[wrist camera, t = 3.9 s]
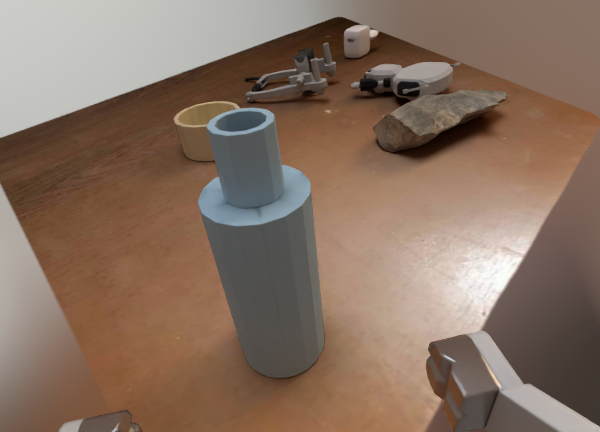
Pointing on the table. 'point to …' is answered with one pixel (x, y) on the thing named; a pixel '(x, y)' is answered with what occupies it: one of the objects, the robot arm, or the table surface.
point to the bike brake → (297, 76)
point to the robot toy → (408, 79)
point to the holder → (199, 128)
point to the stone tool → (432, 117)
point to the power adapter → (358, 40)
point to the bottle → (264, 244)
